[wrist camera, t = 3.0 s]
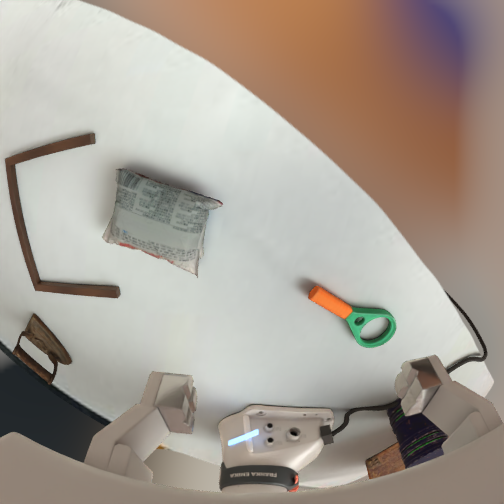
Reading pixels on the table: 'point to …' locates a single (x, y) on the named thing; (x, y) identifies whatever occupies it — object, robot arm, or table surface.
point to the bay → (21, 230)
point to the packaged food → (159, 219)
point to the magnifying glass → (354, 316)
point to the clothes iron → (42, 348)
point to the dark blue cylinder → (416, 436)
